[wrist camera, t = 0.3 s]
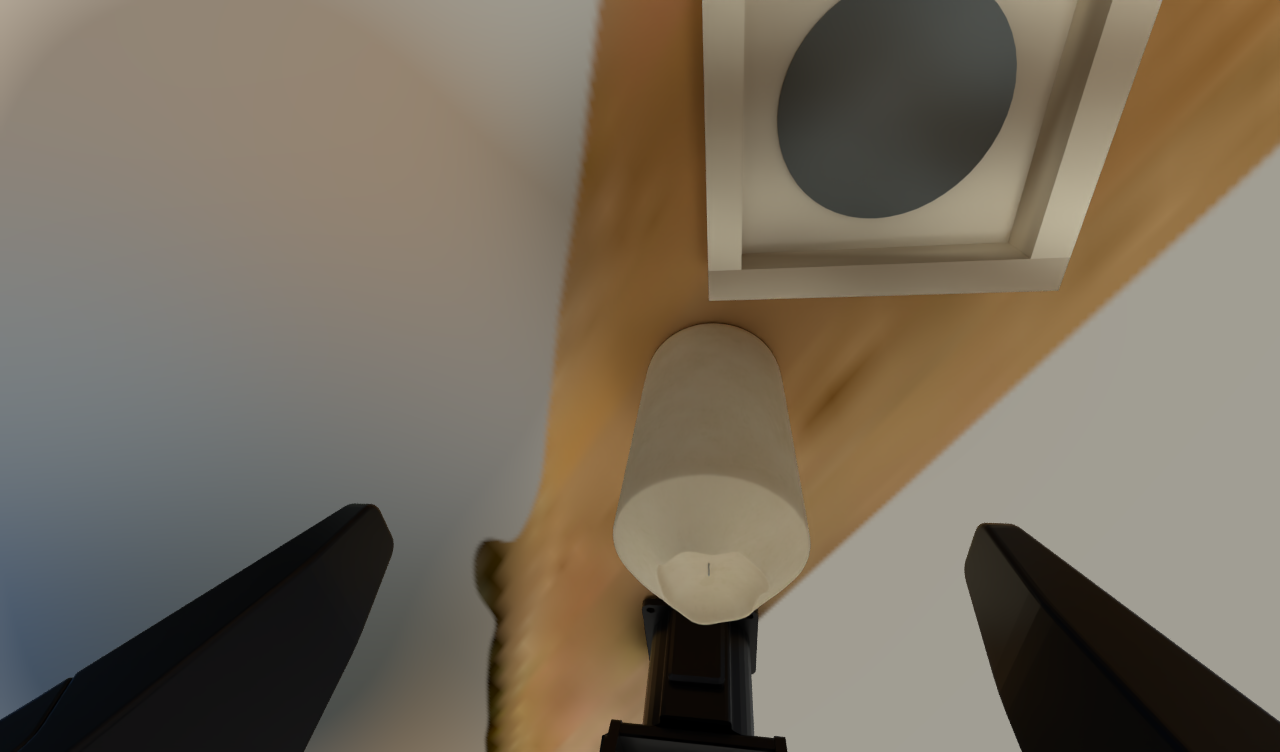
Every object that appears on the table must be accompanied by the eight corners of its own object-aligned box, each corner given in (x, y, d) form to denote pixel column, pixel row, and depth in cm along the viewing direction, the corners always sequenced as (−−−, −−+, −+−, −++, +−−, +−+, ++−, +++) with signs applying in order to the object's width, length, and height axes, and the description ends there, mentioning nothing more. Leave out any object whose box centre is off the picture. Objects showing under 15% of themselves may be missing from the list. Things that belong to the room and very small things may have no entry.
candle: (631, 334, 21) (574, 528, 13) (770, 308, 20) (806, 506, 12) (664, 439, 24) (635, 654, 16) (789, 422, 23) (828, 649, 14)
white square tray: (1011, 254, 18) (1058, 290, 15) (710, 266, 19) (708, 300, 17) (1131, -156, 12) (1235, -204, 10) (702, -95, 14) (699, -122, 11)
